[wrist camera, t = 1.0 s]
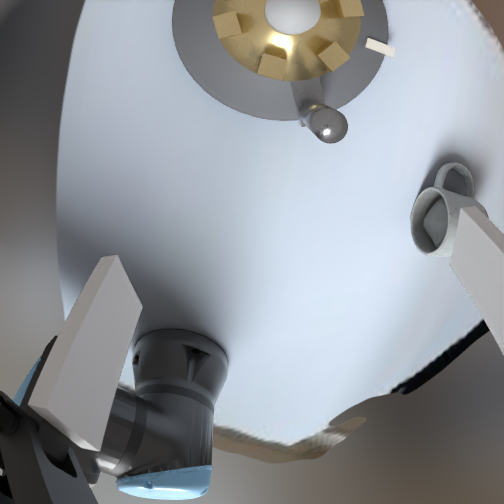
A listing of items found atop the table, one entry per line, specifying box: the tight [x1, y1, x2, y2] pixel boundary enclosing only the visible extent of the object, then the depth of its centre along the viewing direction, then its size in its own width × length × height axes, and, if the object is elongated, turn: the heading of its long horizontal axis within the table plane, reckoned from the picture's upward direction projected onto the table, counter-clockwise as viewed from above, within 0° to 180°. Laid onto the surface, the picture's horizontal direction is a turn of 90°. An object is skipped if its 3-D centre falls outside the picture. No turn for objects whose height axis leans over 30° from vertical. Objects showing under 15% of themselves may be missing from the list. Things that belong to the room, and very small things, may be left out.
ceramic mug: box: [411, 162, 489, 257], centre depth 31 cm, size 11×8×8 cm
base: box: [172, 0, 395, 121], centre depth 21 cm, size 20×20×7 cm
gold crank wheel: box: [212, 0, 364, 143], centre depth 20 cm, size 16×12×9 cm
